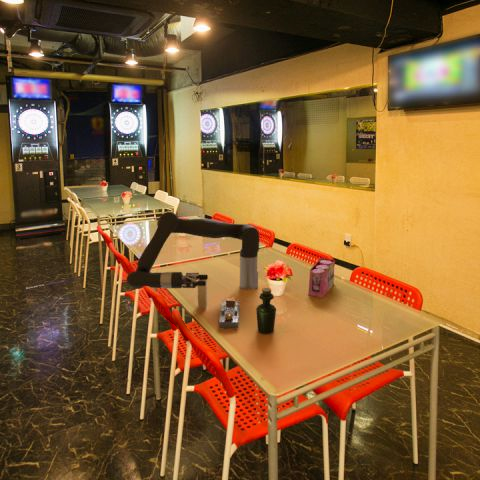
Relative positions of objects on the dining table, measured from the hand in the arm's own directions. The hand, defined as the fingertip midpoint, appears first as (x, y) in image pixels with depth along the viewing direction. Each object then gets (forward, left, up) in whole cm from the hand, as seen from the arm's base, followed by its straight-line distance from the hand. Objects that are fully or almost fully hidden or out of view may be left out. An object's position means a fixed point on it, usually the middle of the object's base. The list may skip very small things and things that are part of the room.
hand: (206, 280), depth 192 cm
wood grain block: (+2, 0, -14) cm, 14 cm away
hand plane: (-9, +13, -14) cm, 21 cm away
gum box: (-61, -15, -14) cm, 64 cm away
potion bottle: (-22, +28, -14) cm, 38 cm away
